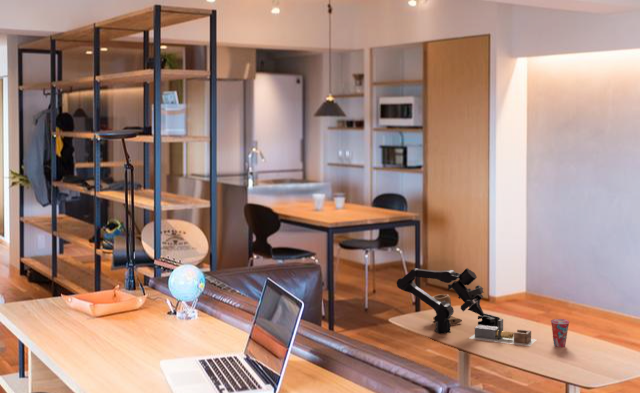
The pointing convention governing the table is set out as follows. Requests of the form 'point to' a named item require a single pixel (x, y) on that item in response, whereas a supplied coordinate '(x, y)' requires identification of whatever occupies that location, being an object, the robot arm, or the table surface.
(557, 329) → the cup
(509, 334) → the sliding bolt
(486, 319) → the end cap
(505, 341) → the board
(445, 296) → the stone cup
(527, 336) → the socket
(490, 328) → the sleeve
